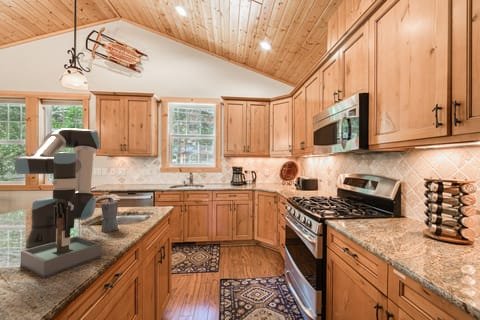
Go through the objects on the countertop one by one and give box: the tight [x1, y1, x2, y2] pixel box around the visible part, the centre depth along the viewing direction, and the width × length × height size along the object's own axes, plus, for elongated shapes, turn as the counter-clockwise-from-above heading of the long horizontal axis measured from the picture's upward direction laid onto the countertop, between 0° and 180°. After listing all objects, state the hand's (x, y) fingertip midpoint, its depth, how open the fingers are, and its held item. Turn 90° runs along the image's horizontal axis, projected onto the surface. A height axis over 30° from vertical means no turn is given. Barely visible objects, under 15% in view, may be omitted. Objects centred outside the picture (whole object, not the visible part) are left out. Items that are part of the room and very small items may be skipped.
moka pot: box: [100, 197, 119, 233], centre depth 133 cm, size 10×15×20 cm, turn 24°
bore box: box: [19, 235, 103, 279], centre depth 90 cm, size 20×20×6 cm
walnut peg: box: [57, 217, 69, 253], centre depth 90 cm, size 4×4×14 cm
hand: (63, 244), depth 90 cm, fingers closed on walnut peg, 4 cm apart
